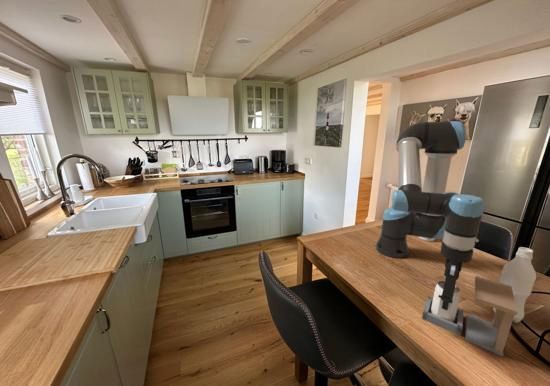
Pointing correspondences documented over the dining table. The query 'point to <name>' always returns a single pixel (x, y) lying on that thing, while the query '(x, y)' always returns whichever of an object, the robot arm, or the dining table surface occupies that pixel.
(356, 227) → the dining table surface
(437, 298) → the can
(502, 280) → the water bottle
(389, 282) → the dining table surface
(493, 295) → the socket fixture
